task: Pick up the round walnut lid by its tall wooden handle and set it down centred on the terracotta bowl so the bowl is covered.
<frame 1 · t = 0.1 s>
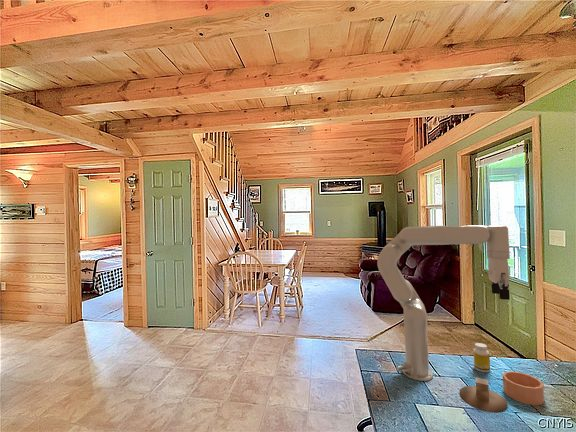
hand: (500, 296, 115), 37 cm above the table, tool pointing down, fingers open, 9 cm apart
terracotta bowl: (523, 395, 109), on the table
walnut lid: (482, 399, 107), on the table
pill bottle: (482, 369, 129), on the table
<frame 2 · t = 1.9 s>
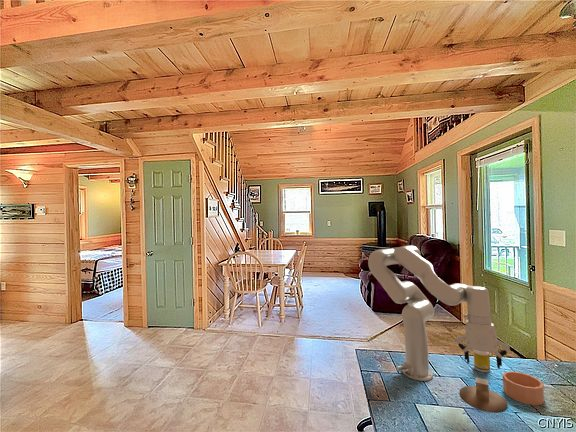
hand: (482, 364, 107), 13 cm above the table, tool pointing down, fingers open, 9 cm apart
nothing on the table moved.
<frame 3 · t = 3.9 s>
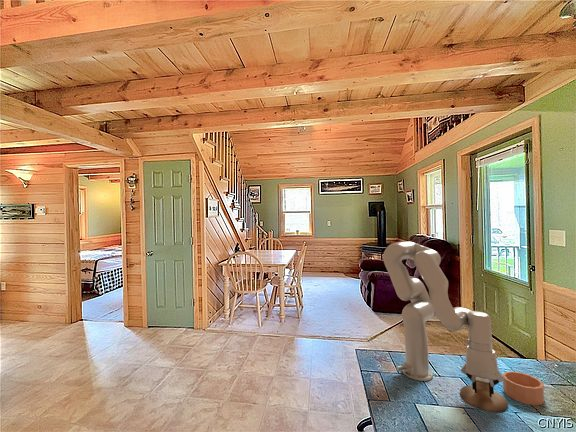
hand: (483, 393, 107), 2 cm above the table, tool pointing down, fingers closed on walnut lid, 4 cm apart
walnut lid: (483, 399, 107), on the table, touching gripper
everything else where it was.
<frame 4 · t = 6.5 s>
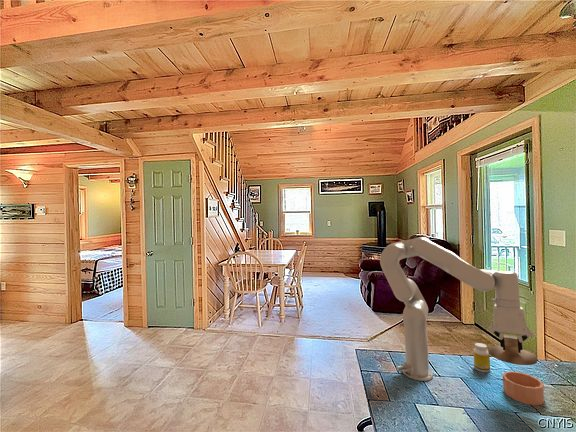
hand: (511, 349, 109), 18 cm above the table, tool pointing down, fingers closed on walnut lid, 4 cm apart
walnut lid: (511, 355, 109), point 16 cm above the table, touching gripper
everything else where it was.
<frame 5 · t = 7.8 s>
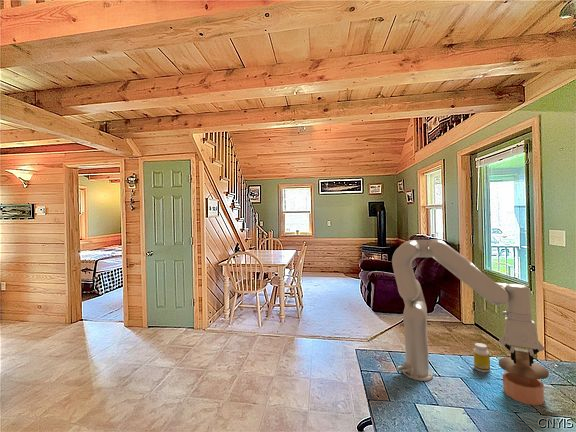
hand: (522, 363, 109), 12 cm above the table, tool pointing down, fingers closed on walnut lid, 4 cm apart
walnut lid: (522, 368, 109), point 10 cm above the table, touching gripper
everything else where it was.
when the fingers open (9 cm above the table, at t = 9.0 s): walnut lid drops 1 cm, resting on terracotta bowl.
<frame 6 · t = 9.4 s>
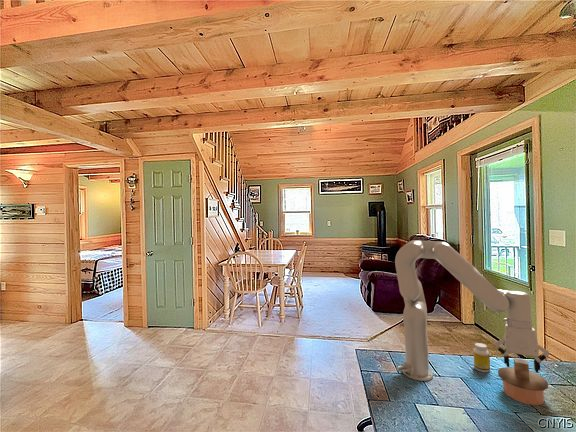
hand: (521, 368, 109), 10 cm above the table, tool pointing down, fingers open, 8 cm apart
walnut lid: (522, 379, 109), point 6 cm above the table, touching terracotta bowl
everything else where it was.
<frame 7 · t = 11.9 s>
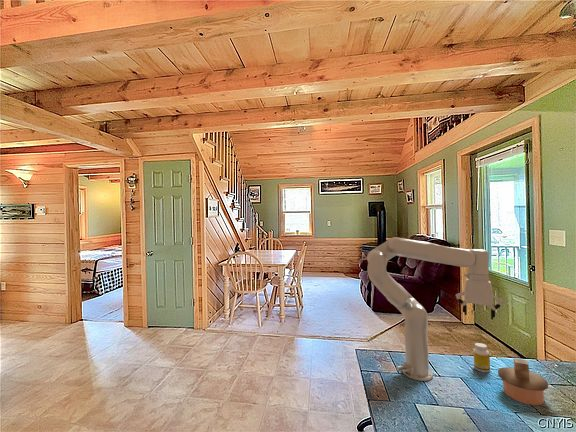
hand: (478, 316, 123), 27 cm above the table, tool pointing down, fingers open, 9 cm apart
nothing on the table moved.
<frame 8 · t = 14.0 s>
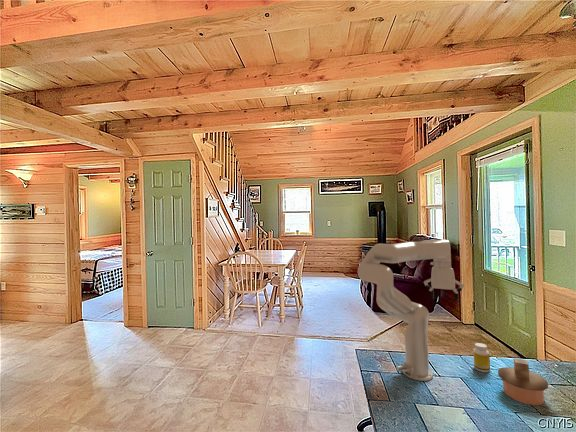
hand: (443, 300, 137), 30 cm above the table, tool pointing down, fingers open, 9 cm apart
nothing on the table moved.
at the end: walnut lid 0.1 cm from the terracotta bowl (horizontally); walnut lid point 6.0 cm above the table; walnut lid tilted 0° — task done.
